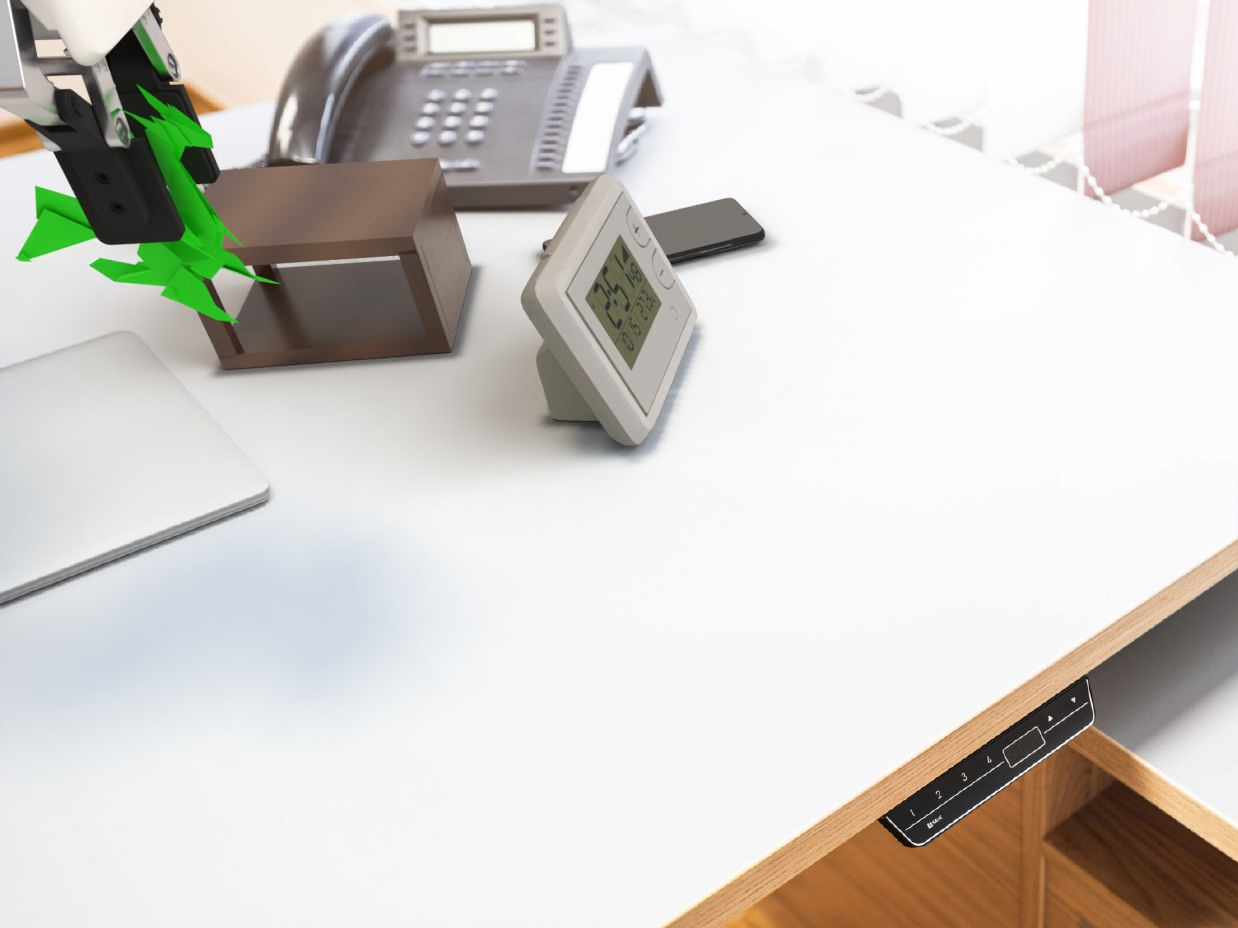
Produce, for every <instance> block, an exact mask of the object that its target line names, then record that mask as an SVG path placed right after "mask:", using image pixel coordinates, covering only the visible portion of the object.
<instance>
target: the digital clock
mask: <svg viewBox="0 0 1238 928" xmlns="http://www.w3.org/2000/svg"><path fill="white" fill-rule="evenodd" d="M643 217H644V215H643V214H642V213H641V210H640V209H639V208H638V206H637V203H636V202H635V200H634V199H633V197H632V196H631V194H630V192H629V191H628V189H627V187H626V186H625V185H624V183H623V182H622V181H621V180H619V179H617V178H616V177H613V176H611V175H608V174H604V173H603V174H601V175H599V176H596V177H594V178H593V179H592V180H591V181H590V182H589V183H588V184H587V186H586V187H585V188H584V190H583V191H582V193H581V194H580V196H578V197H577V198H576V199H575V200H574V203H573V204H572V206H571V208H569V211H568V212H567V213H566V215H565V217H564V219H563V221H562V222H561V224H560V225H559V227H558V228H557V230H556V231H555V233H554V235H553V236H552V238H551V239H552V240H551V242H550V243H549V245H548V247H547V248H546V250H545V251H544V250H543V253H542V255H541V256H540V261H539V262H538V264H537V266H536V268H535V269H534V270H533V273H532V274H531V276H530V277H529V279H528V281H527V282H526V284H525V286H524V287H523V290H522V292H521V294H520V304H521V307H522V310H523V311H524V313H525V315H526V316H527V319H529V321H530V322H531V324H532V325H533V327H534V328H535V329H536V331H537V333H538V335H540V337H541V339H542V340H543V342H542V343H541V345H540V347H539V349H538V350H537V353H536V356H535V364H536V369H537V374H538V377H539V380H540V383H541V387H542V390H543V393H544V397H545V401H546V404H547V407H548V410H549V414H550V417H551V419H553V420H557V421H570V422H572V421H573V422H575V421H576V422H599V423H600V424H601V426H602V427H603V428H604V430H605V431H606V433H607V434H608V435H609V436H610V437H611V439H612V440H614V441H616V442H617V443H619V444H621V445H622V446H623V445H624V446H626V447H632V446H638V445H641V444H642V443H643V442H644V441H645V439H646V438H647V437H648V436H649V434H650V432H651V430H652V429H653V428H654V426H655V424H656V423H657V419H658V417H659V416H660V413H661V410H662V408H663V406H664V403H665V400H666V397H667V396H668V393H669V391H670V388H671V386H672V383H673V381H674V378H675V376H676V373H677V371H678V368H679V366H680V363H681V361H682V359H683V356H684V353H685V351H686V348H687V346H688V344H689V341H690V339H691V337H692V334H693V331H694V329H695V326H696V323H697V319H698V311H697V308H696V306H695V304H694V302H693V300H692V298H691V297H690V295H689V293H688V290H687V289H686V287H685V286H684V284H683V283H682V281H681V279H680V278H679V276H678V274H677V273H676V271H675V269H674V268H673V265H672V263H670V262H669V260H668V259H667V257H666V255H665V254H664V252H663V250H662V248H661V247H660V245H659V243H658V242H657V240H656V238H655V236H654V235H653V233H652V231H651V230H650V228H649V226H648V225H647V223H646V221H645V219H644V218H643Z"/></svg>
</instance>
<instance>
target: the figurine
mask: <svg viewBox="0 0 1238 928" xmlns="http://www.w3.org/2000/svg"><path fill="white" fill-rule="evenodd" d="M137 86H138V85H137ZM138 87H139V89H140V90H141V92H142V93H143V95H144V96H145V98H146V99H147V101H148V102H149V103H150V104H151V105H152V106H153V107H154V108H155V109H156V110H157V111H159V112H160V113H161V114H162V115H161V114H160V115H161V116H162V117H163V118H164V119H165V121H163V120H160V119H158V118H155V117H153V116H151V117H152V119H153V120H154V122H155V123H154V122H151V121H149V120H146V119H144V118H141V117H139V116H136V115H134V114H132V113H129V112H127V111H124V110H122V109H120V110H121V111H123V112H125V113H127V114H129V115H131V116H133V117H134V118H135V119H136V120H138V121H139V122H140V123H142V124H143V125H144V126H146V127H147V129H145V132H146V134H147V137H148V139H149V142H150V144H151V147H152V149H153V152H154V154H155V157H156V159H157V162H158V164H159V167H160V169H161V172H162V174H163V177H164V179H165V182H166V184H167V188H168V190H169V192H170V195H171V197H172V199H173V201H174V203H175V206H176V208H177V210H178V212H179V214H180V217H181V219H182V221H183V223H184V225H185V229H186V231H185V233H184V235H183V237H182V238H181V240H179V241H177V242H162V243H143V244H139V245H138V249H137V252H136V255H137V256H138V257H139V258H140V259H141V260H142V261H137V262H136V263H135V264H133V263H128V262H123V261H119V260H114V259H108V258H103V257H99V258H98V259H95V260H94V261H93V262H91V263H90V264H88V266H89V267H90V268H92V269H94V270H95V271H96V272H99V273H100V274H101V275H103V276H105V277H106V278H108V280H111V281H112V282H114V283H121V284H134V285H146V286H155V287H164V289H163V290H162V291H161V293H160V296H161V297H162V298H163V297H164V298H166V299H169V300H172V301H174V302H177V303H179V304H181V305H183V306H186V307H188V308H190V309H193V310H194V311H196V310H197V311H199V312H201V313H203V314H205V315H207V316H210V317H212V318H214V319H216V320H222V321H228V322H231V323H234V322H235V323H239V322H237V321H236V318H233V317H232V316H231V315H229V314H228V313H227V312H226V313H227V314H226V313H225V312H224V311H222V310H221V309H220V308H218V307H217V306H215V304H214V302H213V300H212V298H211V296H210V294H209V292H208V290H207V288H206V286H205V284H204V283H202V281H203V280H204V279H203V278H202V277H200V276H203V277H205V278H208V279H210V280H212V279H213V278H214V277H215V276H216V275H217V274H218V272H219V271H220V270H221V269H224V270H226V271H229V272H231V273H235V274H238V275H241V276H243V277H246V278H249V279H252V280H254V281H255V280H258V281H262V282H269V283H276V282H273V281H270V280H267V279H265V278H262V277H259V276H256V274H252V273H251V272H250V271H249V270H248V268H247V266H244V265H243V263H242V262H241V261H240V260H239V258H238V257H237V256H235V255H234V254H232V253H230V252H228V251H226V250H225V249H223V248H221V247H222V242H223V237H224V233H225V234H226V235H228V236H229V237H230V238H232V239H233V240H234V241H236V242H237V243H238V244H240V245H241V243H240V242H239V241H238V240H237V239H236V238H235V237H234V236H233V235H232V234H231V233H230V232H229V231H228V230H227V229H226V228H225V227H224V226H223V223H222V221H221V219H220V218H219V217H218V215H217V214H216V212H215V211H214V209H213V208H212V207H211V205H210V204H209V202H208V201H207V199H206V198H205V196H204V195H203V194H204V193H203V192H202V191H201V189H200V188H199V186H198V184H195V182H194V181H193V179H192V178H191V176H190V175H189V173H188V172H187V171H186V169H185V168H184V166H183V165H182V163H181V162H180V158H181V156H182V153H183V151H184V148H185V146H190V147H192V146H198V147H205V148H211V149H214V143H213V137H212V135H211V134H210V133H209V132H208V131H206V130H205V129H204V128H203V127H202V128H201V127H200V126H199V125H197V124H196V123H195V122H193V121H192V120H191V119H189V118H188V117H187V116H186V115H184V114H183V113H182V112H180V111H179V110H178V109H176V108H175V107H174V106H172V107H173V108H172V107H171V106H170V105H169V104H168V103H167V104H168V107H169V108H168V107H167V106H166V105H164V104H163V103H161V102H160V101H159V100H157V99H156V98H155V97H153V96H152V95H151V94H149V93H148V92H147V91H145V90H144V89H143V88H141V87H140V86H138ZM118 109H119V108H118ZM131 137H132V138H134V136H133V135H132V133H131ZM34 196H35V198H34V199H35V213H36V216H35V217H36V223H35V224H34V226H33V228H32V230H31V231H30V233H29V234H28V237H27V239H26V240H25V242H24V244H23V245H22V247H21V249H20V251H19V253H18V254H17V256H15V257H14V259H16V260H17V261H19V262H24V263H25V262H27V263H28V262H29V263H32V259H35V258H38V257H41V256H44V255H47V254H51V253H53V252H57V251H60V250H64V249H66V248H70V247H72V246H75V245H78V244H81V243H84V242H87V241H91V240H93V239H97V237H96V236H95V234H94V232H93V230H92V228H91V226H90V224H89V222H88V220H87V218H86V216H85V214H84V212H83V210H82V208H81V206H80V204H79V202H78V200H77V198H76V196H75V197H74V196H71V195H68V194H65V193H61V192H58V191H54V190H52V189H48V188H45V187H41V186H38V185H34ZM241 246H242V245H241ZM242 247H243V246H242ZM186 264H189V265H190V266H192V267H191V268H190V267H189V266H187V265H186ZM199 275H200V276H199ZM276 284H279V283H276ZM197 311H196V312H197Z"/></svg>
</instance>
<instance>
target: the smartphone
mask: <svg viewBox="0 0 1238 928" xmlns="http://www.w3.org/2000/svg"><path fill="white" fill-rule="evenodd" d="M643 218H644V219H645V221H646V223H647V225H648V226H649V228H650V230H651V231H652V233H653V235H654V236H655V238H656V240H657V242H658V243H659V245H660V247H661V248H662V250H663V252H664V254H665V255H666V257H667V259H668V260H669V262H670V264H672V263H675V262H680V261H684V260H688V259H692V258H696V257H700V256H704V257H705V256H709V255H712V254H716V253H719V252H724V251H729V250H731V249H736V248H739V247H744V246H747V245H751V244H756V243H760V242H762V241H764V240H765V238H766V230H765V229H764V227H762V225H761V224H760V223H759V222H758V221H757V220H756V219H755V218H754V217H753V216H752V215H751V214H750V213H749V211H747V210H746V209H745V208H744V207H743V206H742V205H741V204H740V202H738V201H737V200H736V199H735V198H733V197H725V198H719V199H715V200H711V201H708V202H707V201H706V202H703V203H698V204H694V205H690V206H686V207H682V208H678V209H677V208H676V209H672V210H669V211H665V212H660V213H656V214H652V215H647V216H643ZM551 240H552V238H550V239H546V240H544V241H543V242H542V250H543V252H544V251H545V250H546V248H547V247H548V245H549V243H550V242H551Z"/></svg>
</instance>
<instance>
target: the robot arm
mask: <svg viewBox="0 0 1238 928" xmlns="http://www.w3.org/2000/svg"><path fill="white" fill-rule="evenodd" d="M160 13H161V10H160V9H159V7H157V6H156V3H155V0H0V109H2V110H4V111H7V112H9V113H11V114H12V115H15V116H17V117H19V118H20V119H22V120H23V121H24V123H26V124H27V125H28V126H29V127H31V128H32V129H33V130H35V133H36V135H37V137H38V139H39V141H40V143H41V145H42V146H43V148H45V149H46V151H48V152H52V153H53V155H54V157H55V159H56V161H57V163H58V165H59V167H60V170H61V171H62V173H63V175H64V177H65V179H66V181H67V182H68V185H69V186H70V188H71V189H70V190H71V191H72V193H73V195H74V196H75V198H77V200H78V202H79V204H80V206H81V208H82V210H83V212H84V214H85V216H86V218H87V220H88V222H89V224H90V226H91V228H92V230H93V232H94V234H95V236H96V237H97V238H96V239H97V240H98V241H99V242H100V243H102V244H104V245H106V246H118V245H119V246H120V245H138V244H139V245H140V244H143V243H162V242H177V241H179V240H181V238H182V237H183V235H184V233H185V231H186V229H185V225H184V223H183V221H182V219H181V217H180V214H179V212H178V210H177V208H176V206H175V203H174V201H173V199H172V197H171V195H170V193H171V191H170V190H169V189H168V187H167V184H166V182H165V179H164V177H163V174H162V172H161V169H160V167H159V164H158V162H157V159H156V157H155V154H154V152H153V149H152V147H151V144H150V142H149V139H148V137H147V134H146V132H145V129H147V127H146V126H144V125H143V124H142V123H140V122H139V121H138V120H136V119H135V118H134V117H133V116H131V115H129V114H127V113H125V112H123V111H121V110H120V109H122V110H124V111H127V112H129V113H132V114H134V115H136V116H139V117H141V118H144V119H146V120H149V121H151V122H154V120H153V119H152V117H151V116H153V117H155V118H158V119H160V120H163V121H165V119H164V118H163V117H162V116H161V115H162V114H161V113H160V112H159V111H157V110H156V109H155V108H154V107H153V106H152V105H151V104H150V103H149V102H148V101H147V99H146V98H145V96H144V95H143V93H142V92H141V90H140V89H139V87H138V86H140V87H141V88H143V89H144V90H145V91H147V92H148V93H149V94H151V95H152V96H153V97H155V98H156V99H157V100H159V101H160V102H161V103H163V104H164V105H166V106H167V107H168V104H169V105H170V106H171V107H172V106H174V107H175V108H176V109H178V110H179V111H180V112H182V113H183V114H184V115H186V116H187V117H188V118H189V119H191V120H192V121H193V122H195V123H196V124H197V125H199V126H200V127H201V128H202V129H203V127H202V125H201V121H200V120H199V117H198V114H197V112H196V110H195V108H194V105H193V103H192V100H191V98H190V95H189V93H188V91H187V88H186V86H185V84H184V83H179V82H180V81H181V79H182V72H181V67H180V64H179V61H178V58H177V57H176V54H175V52H174V50H173V49H172V47H171V45H170V44H169V41H168V40H167V38H166V36H165V34H164V33H163V28H162V24H163V22H164V21H163V17H161V15H160ZM51 40H52V41H53V40H54V41H56V40H61V41H62V44H64V46H65V48H64V49H63V50H62V52H63V54H64V55H47V56H46V55H45V56H44V55H43V56H38V51H37V46H36V41H51ZM68 76H69V77H71V76H81V78H82V81H83V84H84V87H85V89H86V90H85V91H86V92H87V95H88V97H89V100H90V102H89V101H87V100H86V99H85V98H84V97H82V96H81V95H80V94H78V93H77V92H76V91H75V90H74V89H71V88H59V87H57V86H55V84H54V82H53V81H51V80H50V79H49V77H68ZM171 83H177V84H171ZM178 83H179V84H178ZM137 85H138V86H137ZM167 103H168V104H167ZM118 108H119V109H118ZM168 108H169V107H168ZM172 108H173V107H172ZM160 114H161V115H160ZM154 123H155V122H154ZM131 133H132V135H133V136H134V138H132V137H131ZM180 162H181V163H182V165H183V166H184V168H185V169H186V171H187V172H188V173H189V175H190V176H191V178H192V179H193V181H194V182H195V184H196V185H209V184H212V183H215V182H216V181H217V179H218V177H219V176H220V170H221V169H220V166H219V164H218V162H217V159H216V157H215V155H214V152H213V151H212V148H205V147H198V146H192V147H190V146H185V148H184V151H183V153H182V156H181V158H180Z"/></svg>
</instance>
